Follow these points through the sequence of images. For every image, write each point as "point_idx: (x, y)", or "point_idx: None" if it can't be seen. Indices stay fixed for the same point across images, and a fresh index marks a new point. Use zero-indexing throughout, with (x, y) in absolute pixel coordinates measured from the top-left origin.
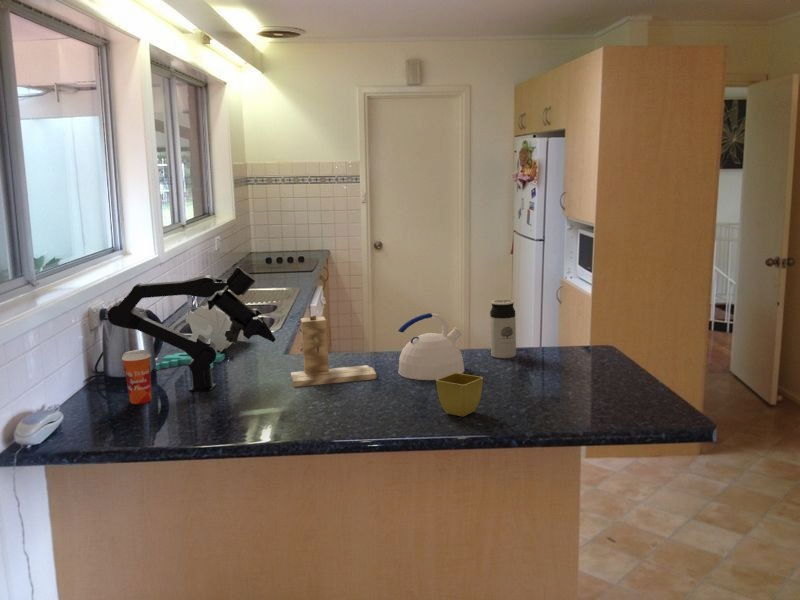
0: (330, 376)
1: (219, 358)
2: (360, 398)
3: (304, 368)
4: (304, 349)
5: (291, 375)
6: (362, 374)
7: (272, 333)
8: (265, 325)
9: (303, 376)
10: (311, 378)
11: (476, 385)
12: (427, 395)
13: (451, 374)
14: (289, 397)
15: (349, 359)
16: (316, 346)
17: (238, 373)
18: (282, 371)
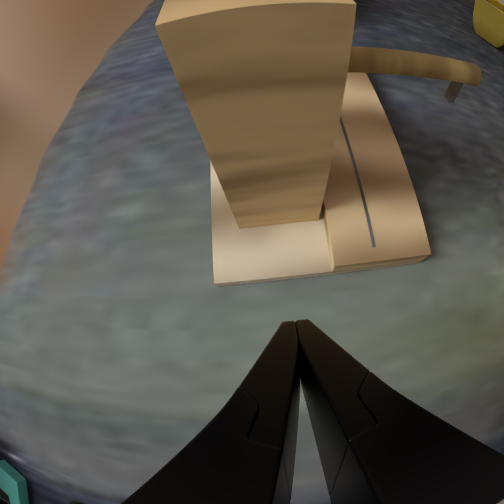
0: (377, 133)
1: (19, 482)
2: (470, 110)
3: (272, 213)
4: (332, 149)
5: (264, 278)
6: None
7: (270, 349)
8: (437, 440)
9: (369, 218)
10: (398, 190)
11: (496, 5)
12: (430, 33)
13: (486, 1)
14: (481, 272)
15: (104, 124)
16: (475, 85)
17: (136, 472)
18: (147, 320)
